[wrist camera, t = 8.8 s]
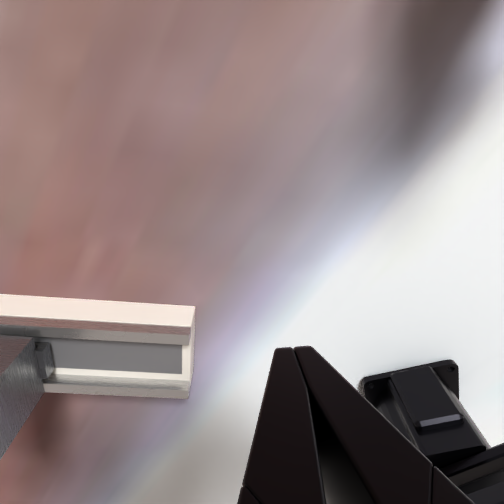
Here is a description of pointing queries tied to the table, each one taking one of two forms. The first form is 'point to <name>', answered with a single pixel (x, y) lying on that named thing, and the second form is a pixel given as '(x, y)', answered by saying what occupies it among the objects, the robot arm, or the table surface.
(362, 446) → the robot arm
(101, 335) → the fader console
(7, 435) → the fader tab
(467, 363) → the table surface
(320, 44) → the table surface
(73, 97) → the table surface
